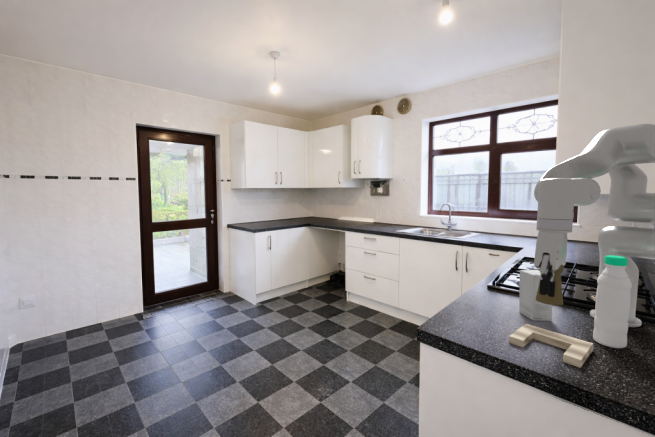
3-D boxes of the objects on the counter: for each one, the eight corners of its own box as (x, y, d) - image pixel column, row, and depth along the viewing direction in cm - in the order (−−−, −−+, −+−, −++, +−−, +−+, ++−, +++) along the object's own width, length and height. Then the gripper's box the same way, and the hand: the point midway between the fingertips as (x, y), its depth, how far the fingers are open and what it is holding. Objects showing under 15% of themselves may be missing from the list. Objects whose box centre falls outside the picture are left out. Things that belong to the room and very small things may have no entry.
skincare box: (552, 321, 100) (555, 275, 99) (531, 321, 101) (534, 275, 99) (535, 311, 109) (538, 269, 107) (517, 311, 109) (519, 269, 108)
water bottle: (630, 352, 81) (638, 260, 79) (595, 345, 85) (602, 257, 83) (622, 341, 87) (629, 255, 85) (590, 335, 91) (596, 252, 89)
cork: (568, 306, 78) (571, 264, 77) (542, 304, 79) (544, 263, 78) (555, 298, 83) (558, 259, 82) (531, 296, 85) (533, 258, 84)
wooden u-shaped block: (525, 329, 94) (525, 323, 94) (592, 350, 82) (593, 343, 82) (508, 342, 86) (509, 336, 86) (580, 367, 74) (581, 360, 74)
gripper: (547, 222, 87) (543, 284, 89) (526, 226, 77) (522, 296, 79) (580, 224, 82) (575, 290, 83) (562, 229, 71) (557, 304, 73)
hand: (549, 292), depth 81 cm, fingers closed on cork, 4 cm apart
